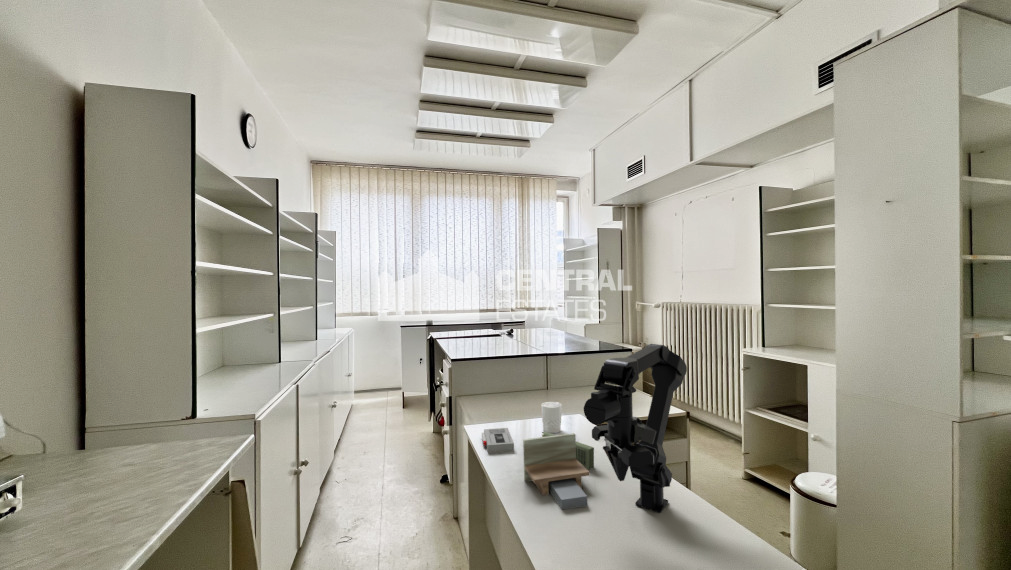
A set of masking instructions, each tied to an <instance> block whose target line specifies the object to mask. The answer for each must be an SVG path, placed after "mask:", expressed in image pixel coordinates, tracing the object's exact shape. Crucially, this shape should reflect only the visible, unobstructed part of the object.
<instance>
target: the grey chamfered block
mask: <svg viewBox="0 0 1011 570" xmlns="http://www.w3.org/2000/svg"><path fill="white" fill-rule="evenodd" d="M548 487H549V492H550V494H551V495H552V497H553V498H554V500H555V502H556V503H557V505H558V507H559V508H560V509H561V510H568V509H575V508H583V507H587V506H588V495H587V494H586V492H585V491H584V490H583V488H582V489H581V488H580V487H579V485H578V484H577V483H576V482H575V480H574V479H573V478H569V479H562V480H555V481H549V482H548Z"/></svg>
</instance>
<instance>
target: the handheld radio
mask: <svg viewBox="0 0 1011 570" xmlns="http://www.w3.org/2000/svg"><path fill="white" fill-rule="evenodd" d="M541 433H542V436H541V437H547V436H555V435H556V434H555V433H548V432H545V431H541ZM576 459H577V460H578V461H579V462H580V463H581V464H582V465H583V466H584V467H585V468H586V469H587V470H593V469H594V468H595V447H593V446H590V445H588V444H585V443H582V442H579V441H576Z"/></svg>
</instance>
